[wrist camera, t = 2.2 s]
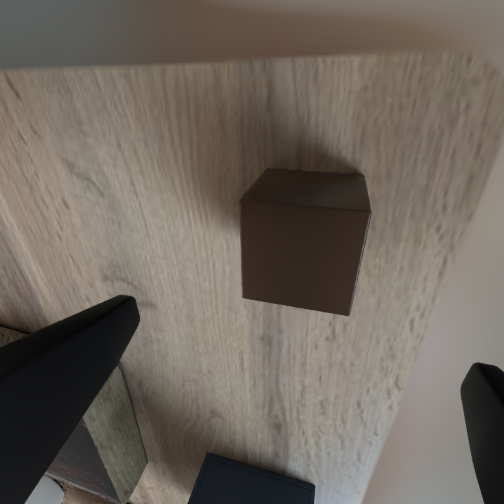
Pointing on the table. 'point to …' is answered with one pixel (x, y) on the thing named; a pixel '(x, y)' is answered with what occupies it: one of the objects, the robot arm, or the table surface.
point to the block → (304, 238)
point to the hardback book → (100, 442)
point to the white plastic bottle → (46, 492)
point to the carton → (246, 485)
